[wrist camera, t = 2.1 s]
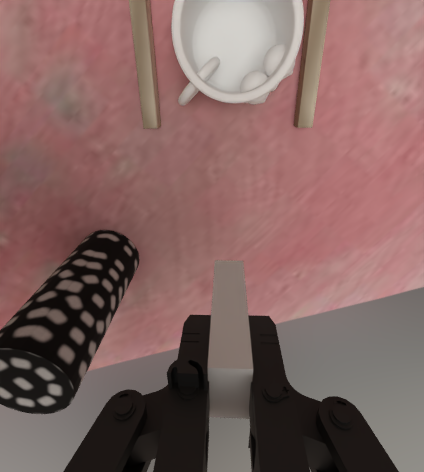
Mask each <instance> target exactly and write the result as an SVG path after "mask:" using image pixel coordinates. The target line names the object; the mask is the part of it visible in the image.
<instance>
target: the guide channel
mask: <svg viewBox="0 0 424 472" xmlns="http://www.w3.org/2000/svg"><path fill="white" fill-rule="evenodd" d="M129 6H130V15H131V23H132V32H133V41H134V50H135V58H136V67H137V76H138V84H139V93H140V102H141V110H142V119H143V128H144V129H149V128H159V127H161V120H160V109H159V97H158V86H157V75H156V63H155V52H154V41H153V29H152V18H151V6H150V0H129ZM329 6H330V0H308V6H307V14H306V23H305V32H304V41H303V49H302V58H301V67H300V75H299V84H298V93H297V102H296V110H295V119H294V126H296V127H298V128H312V125H313V118H314V111H315V104H316V97H317V90H318V83H319V76H320V69H321V62H322V55H323V48H324V41H325V34H326V27H327V20H328V13H329Z"/></svg>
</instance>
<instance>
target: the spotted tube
mask: <svg viewBox="0 0 424 472" xmlns="http://www.w3.org/2000/svg"><path fill="white" fill-rule="evenodd" d="M138 264H139V255H138V251H137V249H136V247H135V246H134V244H133V243H132V242H131V241H130V240H129V239H128V238H126V237H125V236H124V235H122V234H120V233H117V232H114V231H109V230H100V231H96V232H93V233H91V234H90V235H89V236H87V237H86V238H85V239H84V240H83V242H82V243H81V244H80V245H79V246H78V247H77V248H76V249H75V250H74V251H73V252H72V253H71V254H70V256H69V257H68V258H67V259H66V260H65V261H64V262H63V263H62V264H61V265H60V266H59V267H58V269H57V270H56V271H55V272H54V273H53V274H52V275H51V276H50V277H49V278H48V279H47V280H46V282H45V283H44V284H43V285H42V286H41V287H40V288H39V289H38V290H37V291H36V292H35V293H34V294H33V296H32V297H31V298H30V299H29V300H28V301H27V302H26V303H25V304H24V305H23V306H22V307H21V309H20V310H19V311H18V312H17V313H16V314H15V315H14V316H13V317H12V318H11V319H10V320H9V322H8V323H7V324H6V325H5V326H4V327H3V328H2V329H1V330H0V404H2V405H4V406H6V407H8V408H11V409H14V410H17V411H22V412H26V413H32V414H49V413H55V412H58V411H61V410H63V409H65V408H66V407H67V406H69V405H70V404H71V402H72V400H73V398H74V396H75V394H76V392H77V390H78V388H79V386H80V384H81V382H82V380H83V378H84V376H85V374H86V372H87V370H88V368H89V366H90V364H91V362H92V360H93V357H94V355H95V353H96V351H97V349H98V347H99V345H100V343H101V341H102V339H103V337H104V335H105V333H106V331H107V329H108V327H109V325H110V323H111V321H112V319H113V317H114V314H115V312H116V310H117V308H118V306H119V304H120V302H121V300H122V298H123V296H124V294H125V292H126V290H127V288H128V286H129V284H130V282H131V280H132V278H133V276H134V274H135V271H136V269H137V267H138Z"/></svg>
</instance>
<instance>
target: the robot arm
mask: <svg viewBox="0 0 424 472" xmlns="http://www.w3.org/2000/svg"><path fill="white" fill-rule="evenodd" d="M167 377H168V385H167V386H166V387H164V388H163V389H161V390H159V391H156V392H153V393H150V394H146V395H143V396H142V395H141V393H139V392H137V391H136V390H124V391H120V392H119V393H117V394H115V395H114V396H112V397H111V399H110V400H109V401H108V402H107V403H106V405H105V407H104V408H103V410H102V411H101V413H100V414H99V416H98V417H97V419H96V421H95V422H94V424H93V426H92V427H91V429H90V430H89V432H88V434H87V435H86V437H85V438H84V440H83V441H82V443H81V445H80V446H79V448H78V449H77V451H76V452H75V454H74V456H73V457H72V459H71V461H70V462H69V464H68V465H67V467H66V468H65V470H64V472H147V469H148V467H149V465H150V462H151V460H152V459H155V458H156V460H155V466H154V471H153V472H207V462H208V442H209V417H223V418H246V419H249V416H250V436H249V448H250V452H251V468H252V472H310V469H311V472H399V471H398V470H397V468H396V467H395V465H394V464H393V462H392V460H391V459H390V458H389V456H388V454H387V453H386V452H385V450H384V448H383V447H382V445H381V444H380V442H379V441H378V439H377V437H376V436H375V434H374V433H373V431H372V430H371V428H370V427H369V425H368V424H367V422H366V420H365V419H364V417H363V416H362V414H361V413H360V411H358V409H357V408H356V407H355V406H354V405H353V404H352V403H350V402H349V401H347V400H346V399H343V398H340V397H327V398H325V399H323V400H322V402H320V401H317V400H315V399H312V398H309V397H306V396H304V395H302V394H300V393H299V392H297V391H296V390H295V389H294V388H293V387H292V386H291V385H290V383H289V382H288V380H287V377H286V375H285V370H284V364H283V359H282V355H281V350H280V345H279V340H278V336H277V330H276V325H275V324H274V322H273V321H272V319H271V318H270V317H269V316H248V307H247V296H246V286H245V275H244V264H243V261H222V260H215V267H214V281H213V296H212V310H211V315H190V316H189V317H188V318H187V320H186V321H185V323H184V326H183V332H182V337H181V343H180V348H179V354H178V359H177V360H176V361H174V362H173V363H172V364H171V366H170V367H169V369H168V372H167ZM309 467H310V469H309Z"/></svg>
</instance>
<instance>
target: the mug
mask: <svg viewBox="0 0 424 472" xmlns="http://www.w3.org/2000/svg"><path fill="white" fill-rule="evenodd" d="M303 27H304V10H303V2H302V0H175V2H174V6H173V12H172V23H171V29H172V40H173V46H174V50H175V54H176V57H177V60H178V62H179V64H180V66H181V68H182V70H183V72H184V74H185V75H186V77H187V78H188V79H189V81H190V82H189V84H188V85H187V86H186V88H185V89H184V90H183V92H182V93H181V95H180V96H179V99H178V102H179V104H180V105H182V106H184V105H186V104H187V103H188V102H189V101H190V100H191V99H192V98H193V97H194V96H195V95H196V94H197V93H198V92H199V91H201V92H202V93H203V94H205V95H206V96H208V97H210V98H212V99H215V100H217V101H221V102H225V103H249V104H253V105H256V104H260V103H264V102H265V100H266V98H267V97H268V95H269V93H270V92H272V91H274V90H275V89H276V88H277V87H278V84H279V83H280V81H281V80H282V79H285V78H286V77H287V76H290V75H291V74H292V73H293V69H294V66H295V58H296V56H297V53H298V51H299V48H300V44H301V40H302V35H303Z"/></svg>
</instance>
